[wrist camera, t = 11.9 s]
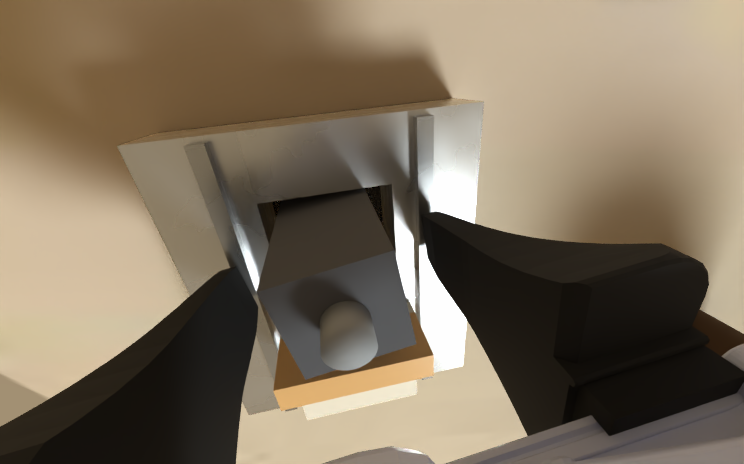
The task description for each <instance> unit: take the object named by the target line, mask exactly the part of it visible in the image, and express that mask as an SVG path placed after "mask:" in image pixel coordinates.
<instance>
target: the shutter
mask: <svg viewBox="0 0 744 464" xmlns="http://www.w3.org/2000/svg"><path fill="white" fill-rule="evenodd" d="M407 305H408V310H409V314H410V318H411V322H412V326H413V331H414V335H415V339H416V343H417V344H415V345H412V346H409V347H406V348H403V349H400V350H397V351H394V352H391V353H387V354H384V355H381V356H378V357H375V358H373V359H372V360H371V361H370V362H369V363H367V364H366V365H364V366H362V367H360V368H357V369H354V370H335V371H331V372H328V373H325V374H322V375H319V376H316V377H313V378H310V379H307V380H305V378H304V376H303V374H302V373H301V371H300V369H299V367H298V365H297V364H296V362H295V360H294V358H293V357H292V355H291V353H290V351H289V349H288V348H287V346H286V344H285V342H284V341H283V339H282V337H281V335H280V342H279V350H278V357H277V365H276V373H275V381H274V389H273V392H274V394H275V397H276V399H277V402H278V404H279V407H280V409H281V411H283V410H287V409H291V408H296V407H300V406H303V409H304V412H305V415H306V418H307V420H311V419H315V418H319V417H323V416H328V415H332V414H336V413H340V412H344V411H349V410H353V409H357V408H361V407H365V406H370V405H374V404H378V403H382V402H387V401H391V400H395V399H399V398H403V397H408V396H412V395H416V394H417V379H421V378H426V377H430V376H434V354H433V352H432V350H431V348H430V345H429V343H428V341H427V339H426V337H425V334H424V332H423V330H422V328H421V325H420V323H419V321H418V319H417V316H416V314H415V312H414V310H413V307H412V305H411V303H410V302H407Z"/></svg>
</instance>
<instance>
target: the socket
mask: <svg viewBox="0 0 744 464" xmlns="http://www.w3.org/2000/svg"><path fill="white" fill-rule="evenodd" d="M483 109H484V102H483V101H473V100H464V99H455V98H451V99H443V100H434V101H426V102H417V103H409V104H400V105H392V106H383V107H375V108H366V109H358V110H349V111H341V112H332V113H324V114H315V115H306V116H298V117H289V118H281V119H272V120H264V121H255V122H247V123H238V124H230V125H221V126H213V127H204V128H196V129H187V130H179V131H170V132H162V133H155V134H152V135H149V136H146V137H143V138H140V139H137V140H133V141H130V142H127V143H124V144H121V145H118V146H117V147H118V150H119V152H120V154H121V156H122V158H123V160H124V162H125V164H126V166H127V168H128V170H129V172H130V174H131V176H132V178H133V180H134V182H135V184H136V186H137V188H138V190H139V192H140V194H141V196H142V198H143V200H144V202H145V205H146V207H147V209H148V211H149V213H150V215H151V217H152V219H153V221H154V223H155V225H156V227H157V229H158V231H159V233H160V235H161V237H162V239H163V241H164V243H165V245H166V247H167V249H168V251H169V253H170V255H171V257H172V260H173V262H174V264H175V266H176V268H177V270H178V272H179V274H180V276H181V278H182V280H183V282H184V284H185V286H186V288H187V290H188V292H189V294H190V296H191V295H192V294H193V293H194V292H195V291H196V290H197V289H198V288H200V287H201V286H202V285H203V284H204V283H205V282H206V281H208V280H209V279H210V278H211V277H212V276H214V275H215V274H216V273H218V272H219V271H221V270H225V269H228V268H232V267H235V266H237V268H238V270H239V272H240V274H241V275H242V277H243V279H244V281H245V283H246V285H247V287H248V288H249V290H250V292H251V294H252V296H253V298H254V300H255V301H256V303H257V305H258V323H257V332H256V337H255V342H254V346H253V351H252V355H251V360H250V364H249V369H248V373H247V377H246V382H245V386H244V391H243V397H242V402H243V404H244V406H245V408H246V410H247V412H248V414H249V415H252V414H256V413H260V412H265V411H269V410H273V409H278V408H280V407H279V404H278V402H277V399H276V397H275V394H274V392H273V389H274V381H275V373H276V365H277V357H278V350H279V342H280V333H279V332H278V330H277V328H276V326H275V325H274V323H273V321H272V319H271V317H270V316H269V314H268V312H267V310H266V309H265V307H264V305H263V303H262V301H261V300H260V298H259V296H258V294H257V293H256V292H257V288H258V284H259V280H260V277H261V273H262V269H263V266H264V262H265V258H266V254H267V251H268V247H269V243H270V240H271V236H272V232H273V228H274V225H275V221H276V215H275V211H274V208H273V204H272V202H273V201H280V200H287V199H293V198H300V197H307V196H313V195H320V194H327V193H334V192H340V191H347V190H354V189H360V188H367V187H374V186H380V192H381V204H382V216H383V228H384V230H385V232H386V234H387V236H388V238H389V240H390V242H391V244H392V246H393V248H394V251H395V255H396V259H397V263H398V267H399V272H400V276H401V280H402V284H403V288H404V293H405V297H406V301H407V302H410V303H411V305H412V307H413V310H414V312H415V314H416V316H417V319H418V321H419V323H420V325H421V328H422V330H423V332H424V334H425V337H426V339H427V341H428V343H429V345H430V348H431V350H432V352H433V354H434V372H439V371H443V370H447V369H452V368H456V367H460V366H463V360H464V348H465V335H466V323H467V319H466V318H465V317H464V315H463V314H462V312H461V311H460V310H459V308H458V307H457V305H456V304H455V302H454V301H453V300H452V298H451V297H450V295H449V294H448V292H447V291H446V290H445V288H444V287H443V285H442V284H441V282H440V281H439V279H438V278H437V276H436V274H435V272H434V270H433V268H432V266H431V264H430V262H429V260H428V258H427V252H426V245H425V238H424V231H423V224H422V217H421V215H423V214H426V213H430V212H433V211H440V212H443V213H446V214H449V215H452V216H455V217H457V218H460V219H463V220H466V221H469V222H472V223H474V222H475V209H476V197H477V184H478V172H479V159H480V146H481V134H482V121H483ZM428 378H432V376H430V377H426V378H421V379H422V380H424V379H428ZM294 409H297V407H296V408H291V409H287V410H285V411H290V410H294Z"/></svg>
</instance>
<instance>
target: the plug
mask: <svg viewBox="0 0 744 464" xmlns="http://www.w3.org/2000/svg"><path fill="white" fill-rule="evenodd" d="M256 293H257V294H258V296H259V298H260V300H261V301H262V303H263V305H264V307H265V309H266V310H267V312H268V314H269V316H270V317H271V319H272V321H273V323H274V325H275V326H276V328H277V330H278V332H279V333H280V335H281V337H282V339H283V341H284V342H285V344H286V346H287V348H288V349H289V351H290V353H291V355H292V357H293V358H294V360H295V362H296V364H297V365H298V367H299V369H300V371H301V373H302V374H303V376H304V378H305V380H307V379H310V378H313V377H316V376H319V375H322V374H325V373H328V372H331V371H335V370H354V369H357V368H360V367H362V366H364V365H366V364H367V363H369V362H370V361H371V360H372V359H373V358H375V357H378V356H381V355H384V354H387V353H391V352H394V351H397V350H400V349H403V348H406V347H409V346H412V345H415V344H417V343H416V339H415V335H414V331H413V326H412V322H411V318H410V314H409V310H408V305H407V301H406V297H405V293H404V288H403V284H402V280H401V276H400V272H399V267H398V263H397V259H396V255H395V251H394V248H393V246H392V244H391V242H390V240H389V238H388V236H387V234H386V232H385V230H384V228H383V226H382V224H381V222H380V220H379V218H378V215H377V213H376V211H375V209H374V207H373V205H372V203H371V201H370V199H369V197H368V195H367V193H366V191H365V189H364V188H360V189H354V190H347V191H340V192H334V193H327V194H320V195H313V196H307V197H300V198H293V199H287V200H281V202H280V206H279V210H278V214H277V217H276V221H275V225H274V228H273V232H272V236H271V240H270V243H269V247H268V251H267V254H266V258H265V262H264V266H263V269H262V273H261V277H260V280H259V284H258V288H257V292H256Z"/></svg>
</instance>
